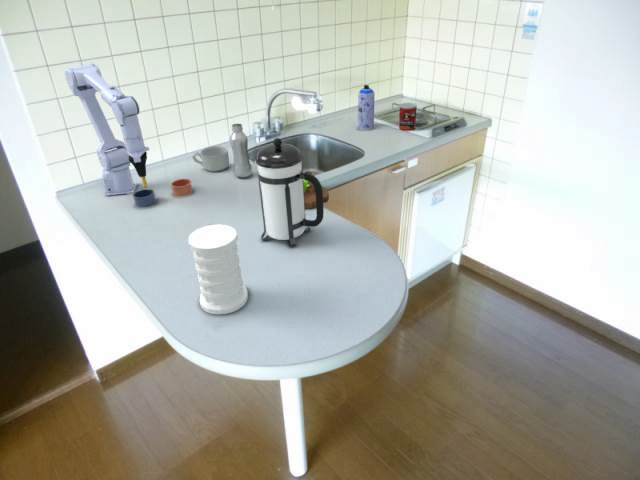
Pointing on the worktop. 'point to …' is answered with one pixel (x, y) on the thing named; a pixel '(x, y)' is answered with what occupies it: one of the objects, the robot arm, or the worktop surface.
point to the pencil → (144, 182)
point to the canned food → (407, 116)
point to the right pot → (181, 187)
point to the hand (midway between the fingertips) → (142, 175)
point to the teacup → (213, 158)
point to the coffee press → (285, 192)
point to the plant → (312, 193)
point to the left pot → (144, 198)
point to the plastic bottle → (240, 151)
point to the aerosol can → (366, 109)
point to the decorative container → (218, 268)
